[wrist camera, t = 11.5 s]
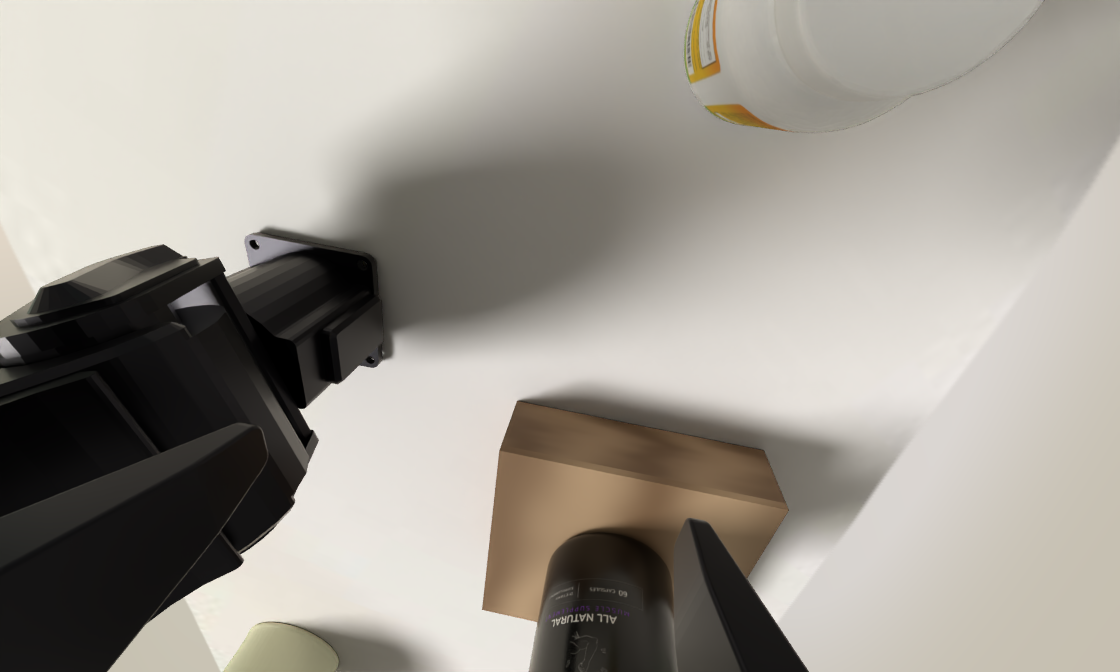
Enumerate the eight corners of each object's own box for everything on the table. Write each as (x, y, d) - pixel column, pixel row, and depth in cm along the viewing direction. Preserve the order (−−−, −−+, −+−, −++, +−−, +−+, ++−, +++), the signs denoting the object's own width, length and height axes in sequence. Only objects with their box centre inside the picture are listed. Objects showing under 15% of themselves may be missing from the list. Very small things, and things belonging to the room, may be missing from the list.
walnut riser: (497, 552, 31) (482, 609, 27) (517, 400, 24) (499, 450, 21) (689, 594, 30) (698, 657, 27) (763, 450, 24) (788, 510, 20)
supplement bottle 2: (869, 52, 15) (1200, -22, 6) (727, 155, 17) (835, 203, 8) (799, -106, 13) (1115, -486, 5) (652, 28, 15) (691, -70, 7)
